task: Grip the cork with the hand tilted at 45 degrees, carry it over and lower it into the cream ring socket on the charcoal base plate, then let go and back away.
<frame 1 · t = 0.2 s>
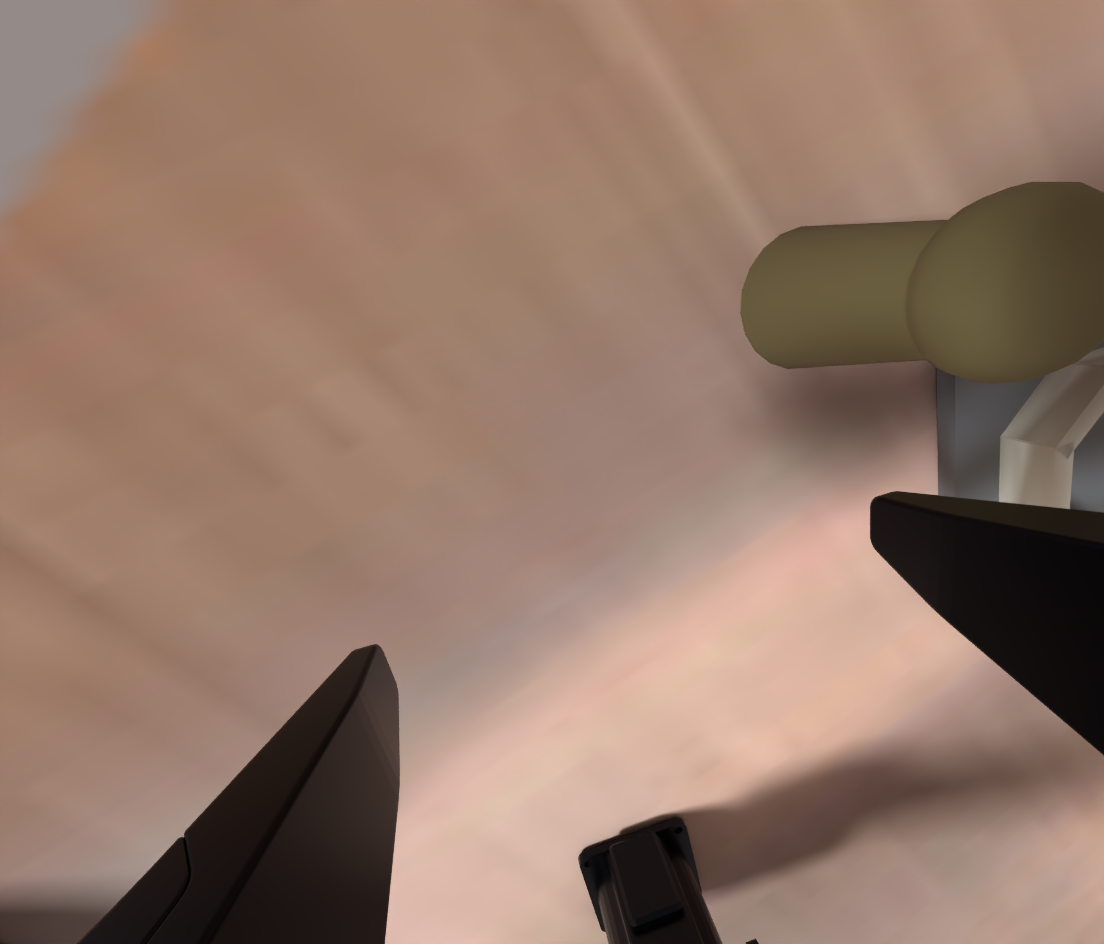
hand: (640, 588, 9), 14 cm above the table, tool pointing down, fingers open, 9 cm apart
cork: (801, 300, 23), on the table
socket: (1063, 442, 28), on the table
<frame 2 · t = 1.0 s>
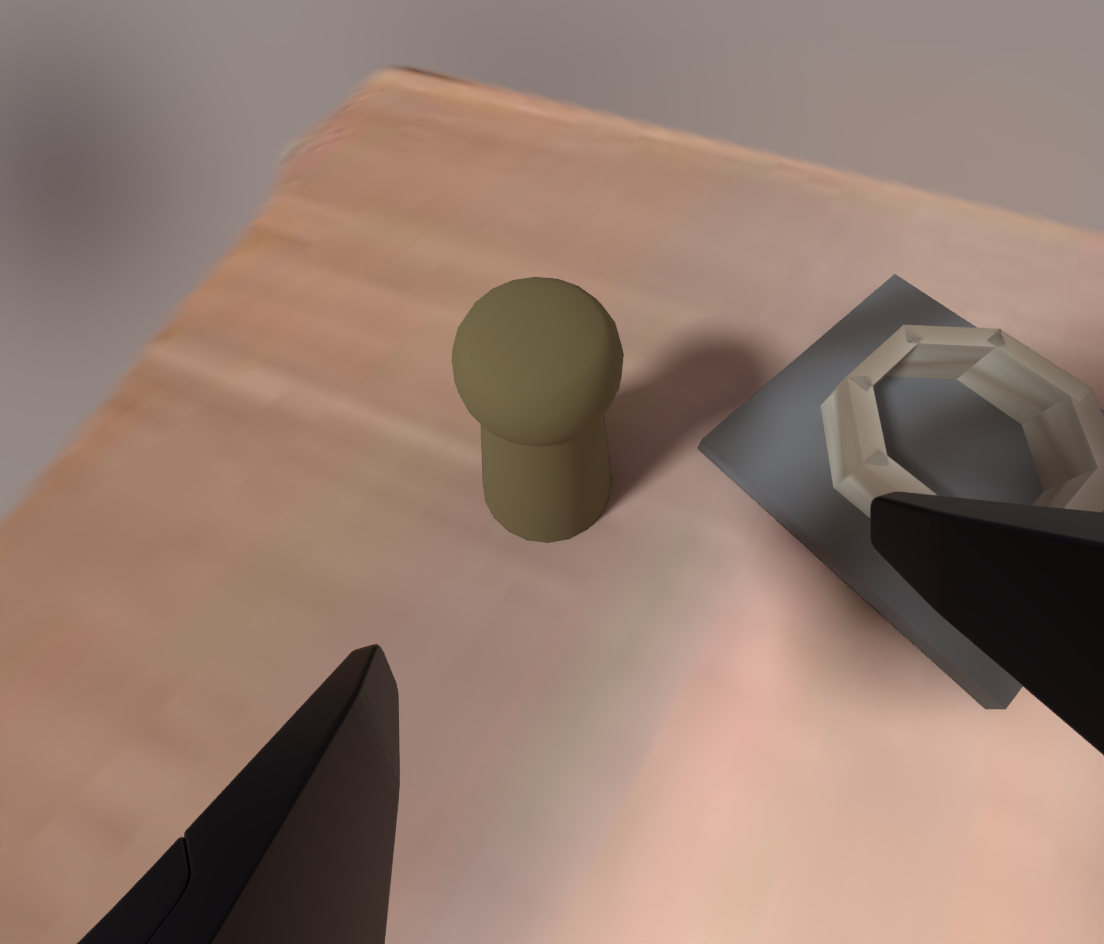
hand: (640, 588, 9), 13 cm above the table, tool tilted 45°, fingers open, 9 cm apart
cork: (547, 482, 25), on the table
socket: (925, 461, 24), on the table
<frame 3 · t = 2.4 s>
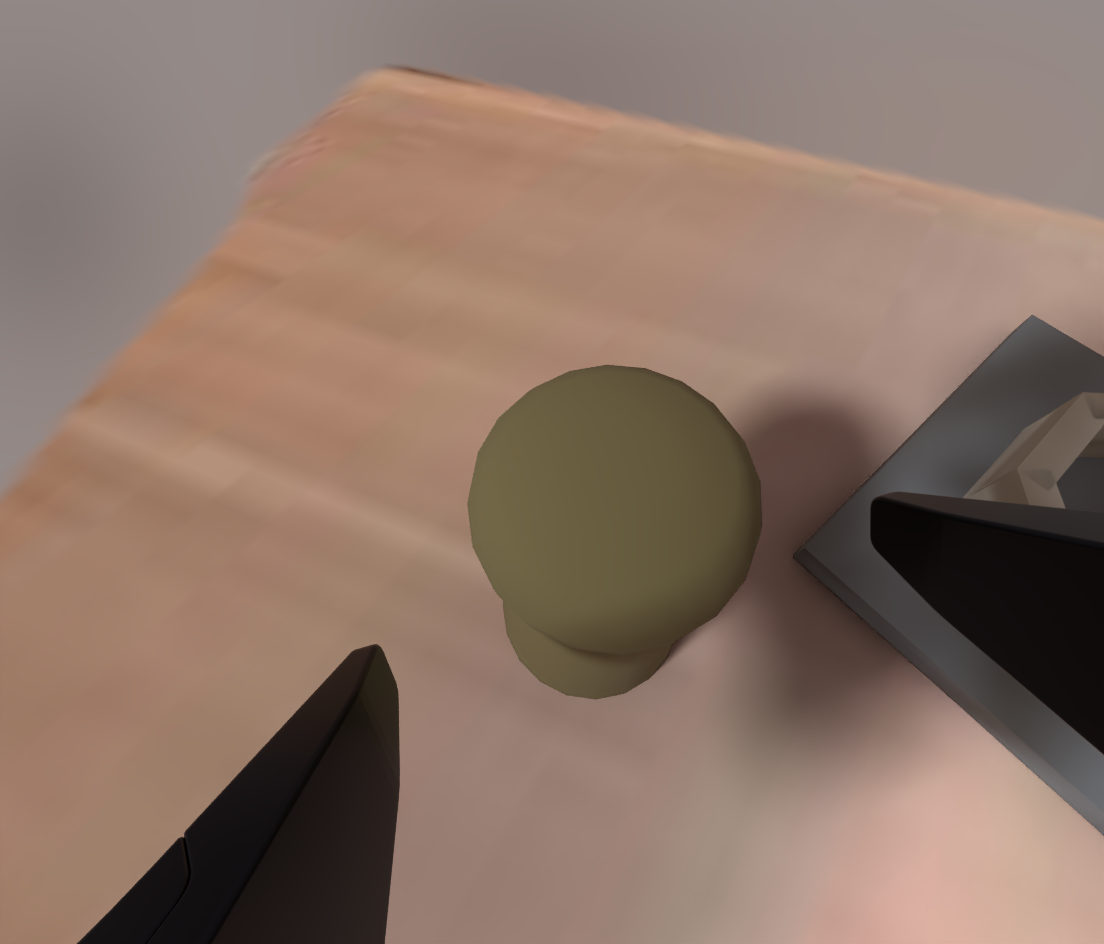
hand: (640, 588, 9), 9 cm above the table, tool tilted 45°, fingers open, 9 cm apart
cork: (590, 604, 18), on the table
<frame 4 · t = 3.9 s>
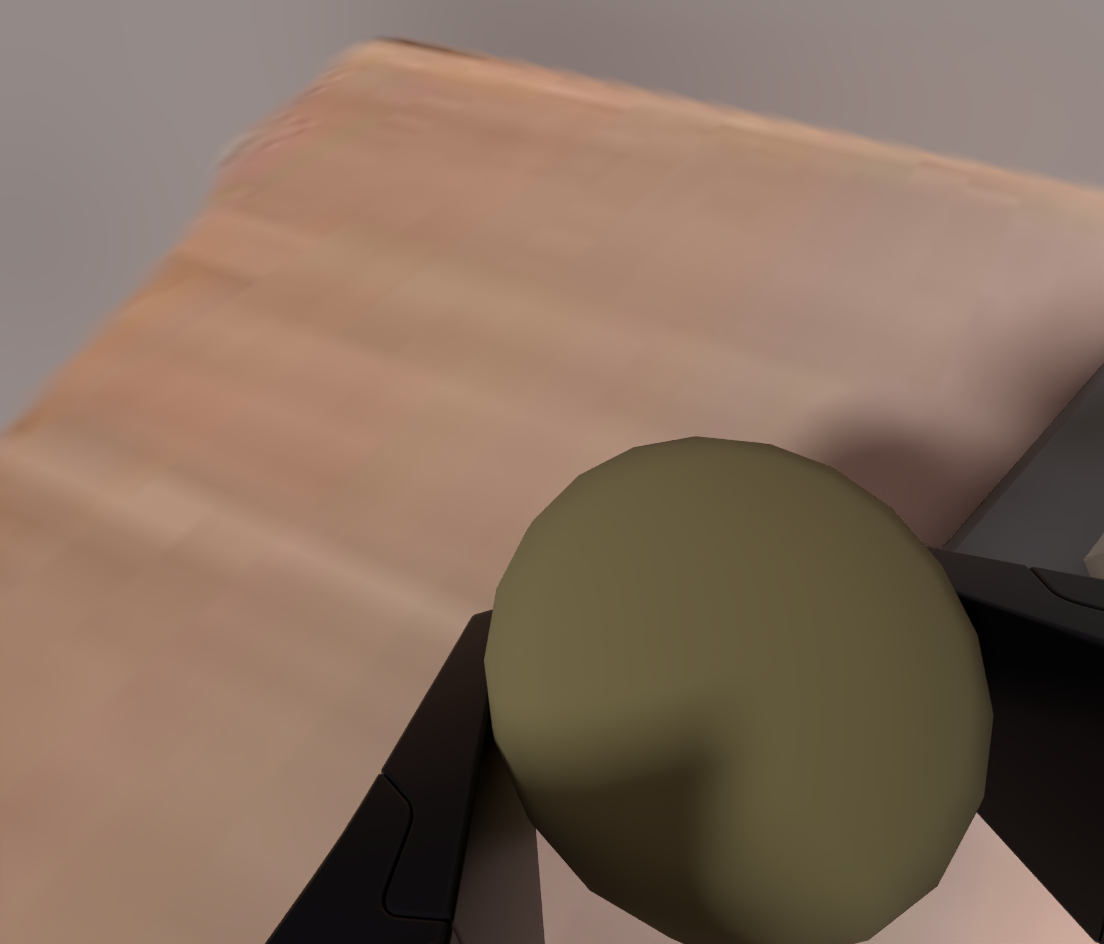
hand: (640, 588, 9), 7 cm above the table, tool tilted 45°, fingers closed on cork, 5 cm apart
cork: (625, 688, 15), on the table, touching gripper
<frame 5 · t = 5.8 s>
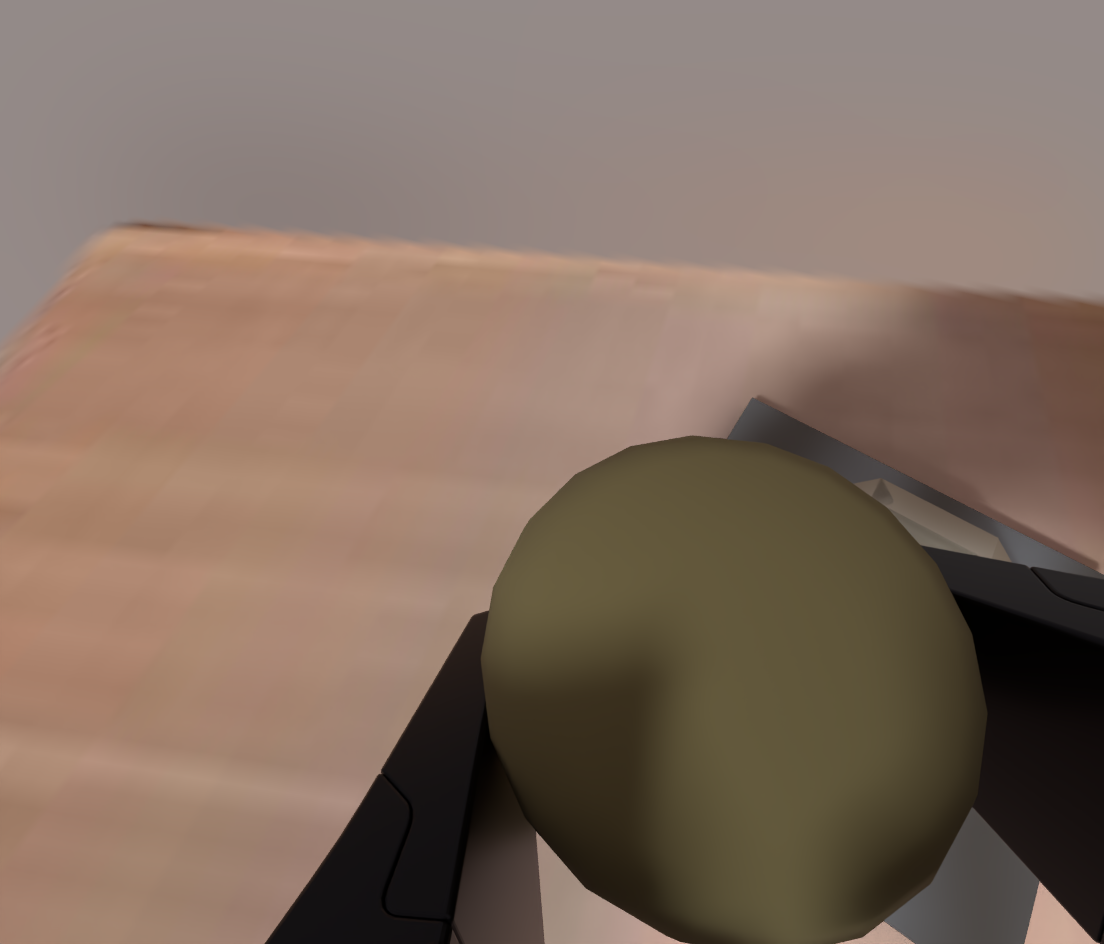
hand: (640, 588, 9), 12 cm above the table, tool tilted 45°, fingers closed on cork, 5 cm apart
cork: (623, 687, 15), point 5 cm above the table, touching gripper
socket: (838, 639, 20), on the table
when the fingers open (9 cm above the table, at t = 7.7 s): cork drops 1 cm, resting on socket.
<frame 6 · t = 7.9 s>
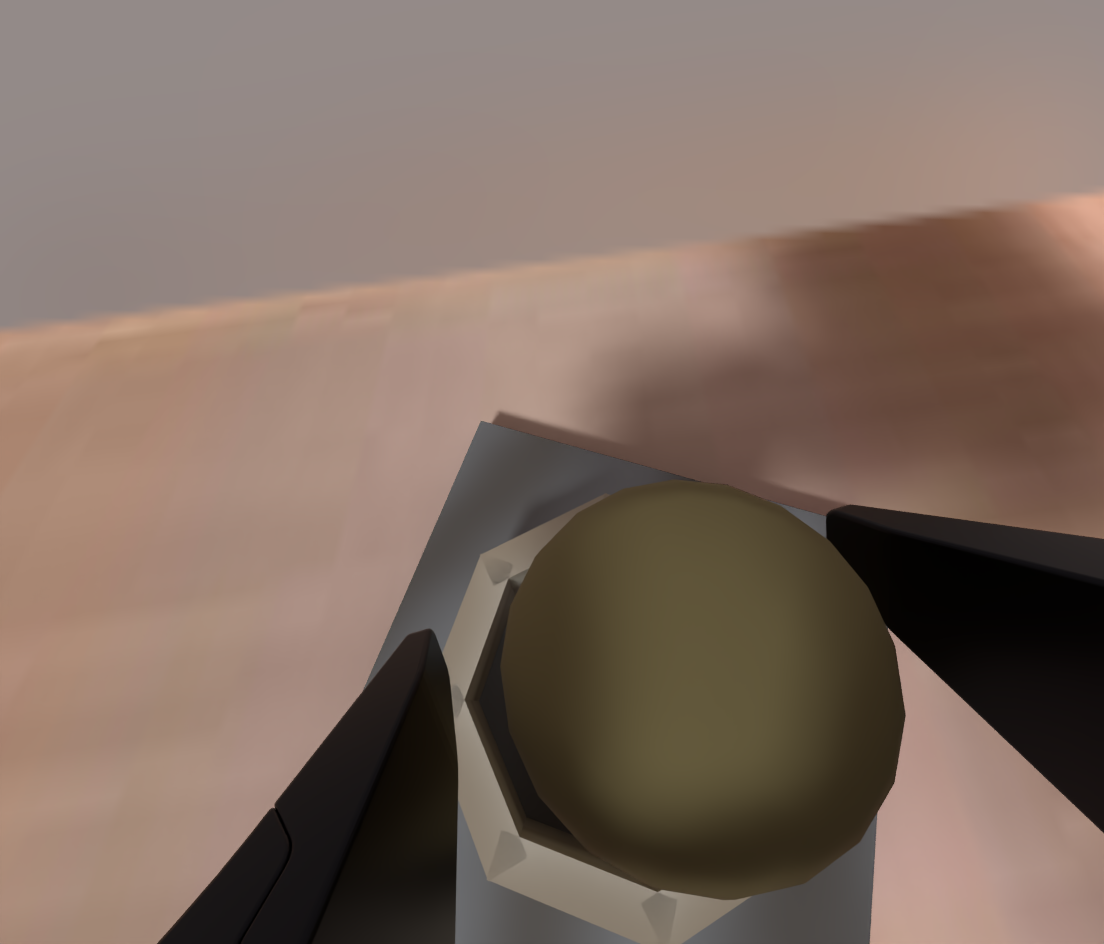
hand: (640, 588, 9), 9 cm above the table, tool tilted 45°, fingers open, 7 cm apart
cork: (622, 697, 16), point 1 cm above the table, touching socket
socket: (618, 690, 17), on the table
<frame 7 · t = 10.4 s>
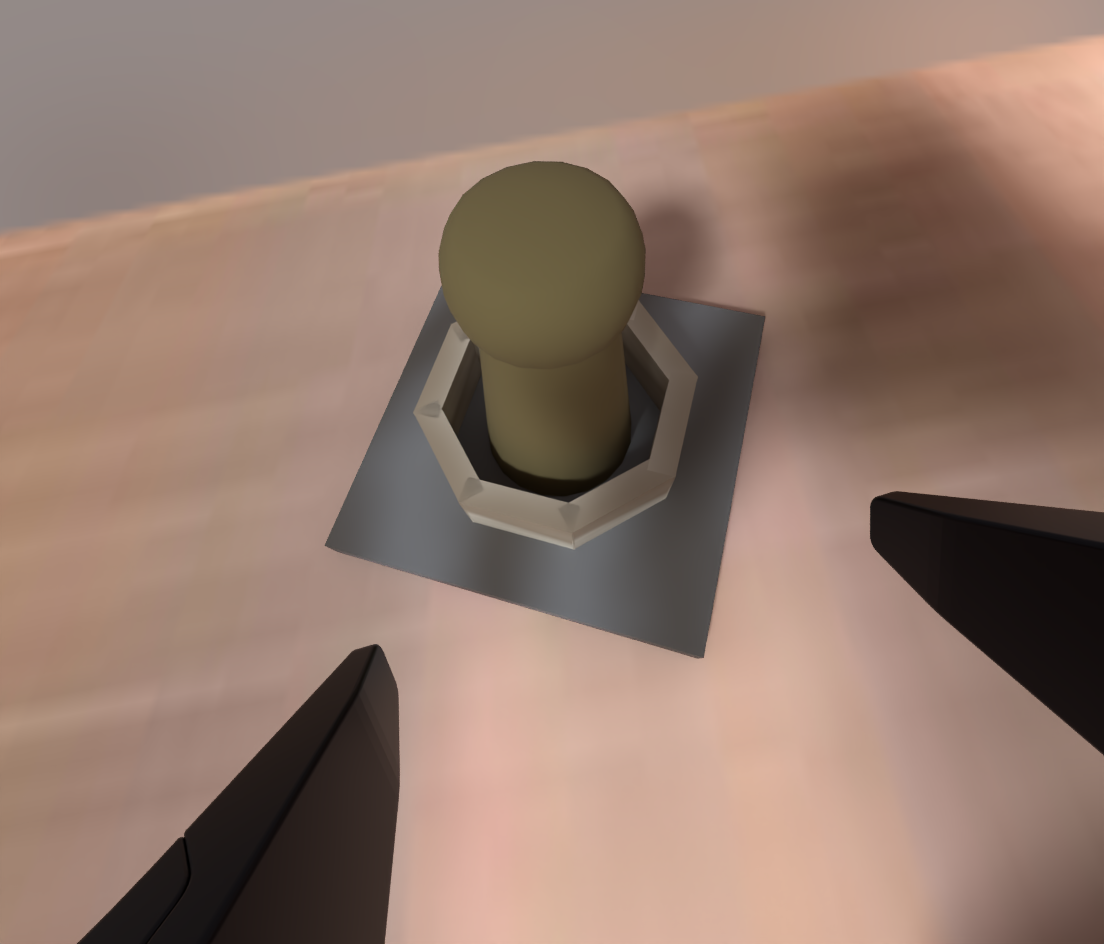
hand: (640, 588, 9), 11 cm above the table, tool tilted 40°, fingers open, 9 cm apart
cork: (559, 430, 22), point 1 cm above the table, touching socket
socket: (559, 434, 23), on the table
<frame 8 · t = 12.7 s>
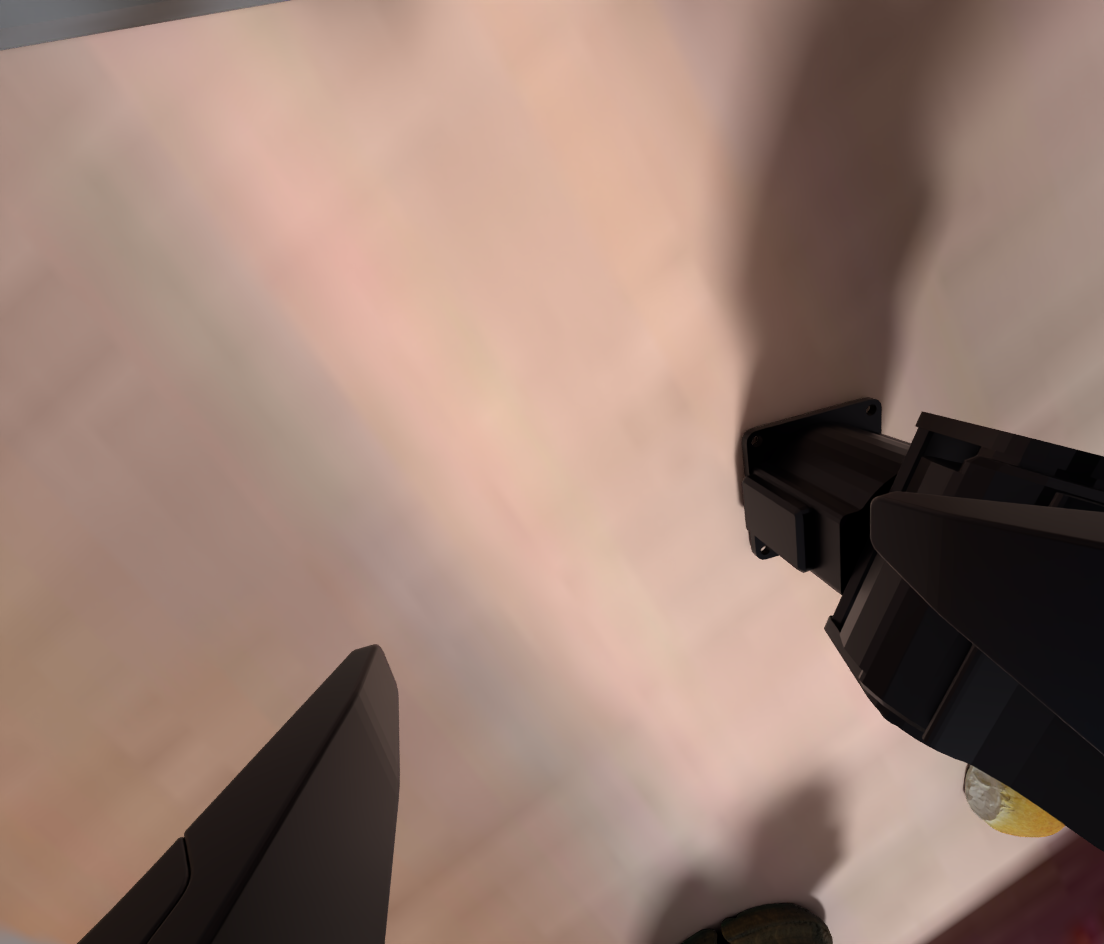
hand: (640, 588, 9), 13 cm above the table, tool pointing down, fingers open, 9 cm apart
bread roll: (1012, 755, 35), on the table
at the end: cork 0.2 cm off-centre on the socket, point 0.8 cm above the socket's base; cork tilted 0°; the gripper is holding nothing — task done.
